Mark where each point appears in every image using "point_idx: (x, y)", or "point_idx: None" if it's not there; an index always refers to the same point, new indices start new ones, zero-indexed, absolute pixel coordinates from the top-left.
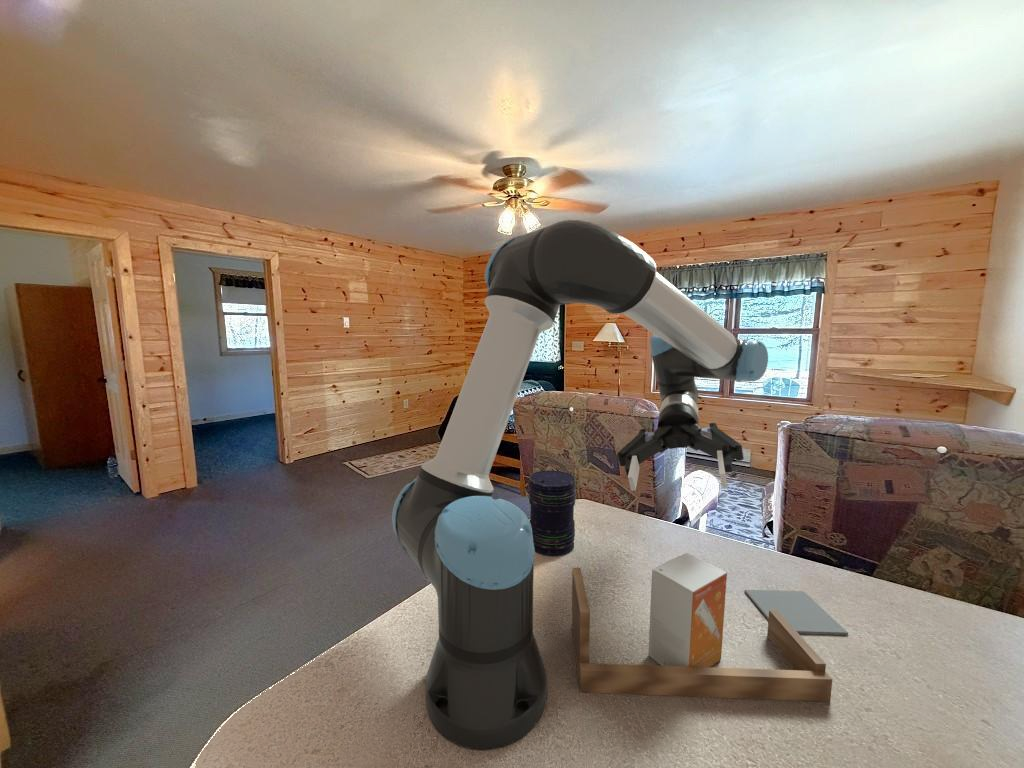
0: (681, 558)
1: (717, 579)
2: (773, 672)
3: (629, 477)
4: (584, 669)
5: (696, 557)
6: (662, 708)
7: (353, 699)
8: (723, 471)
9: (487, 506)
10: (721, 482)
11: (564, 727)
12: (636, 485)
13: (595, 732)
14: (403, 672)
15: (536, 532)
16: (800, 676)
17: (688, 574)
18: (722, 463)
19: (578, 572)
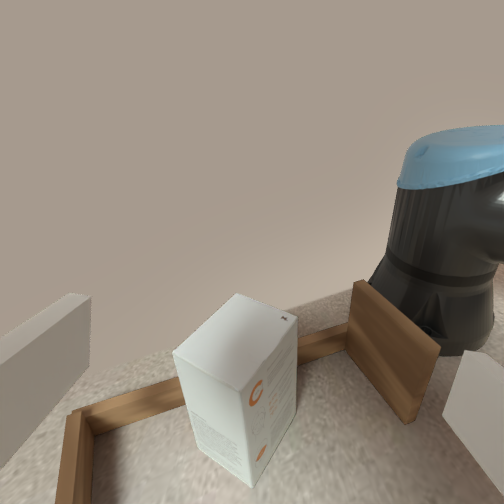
0: (251, 363)
1: (194, 331)
2: (144, 393)
3: (477, 353)
4: (347, 323)
5: (220, 379)
6: None
7: (497, 276)
8: (64, 300)
9: (499, 137)
10: (88, 337)
11: (342, 311)
12: (464, 441)
13: (318, 315)
14: (500, 301)
15: None
16: (112, 399)
17: (240, 320)
18: (16, 332)
19: (421, 339)
